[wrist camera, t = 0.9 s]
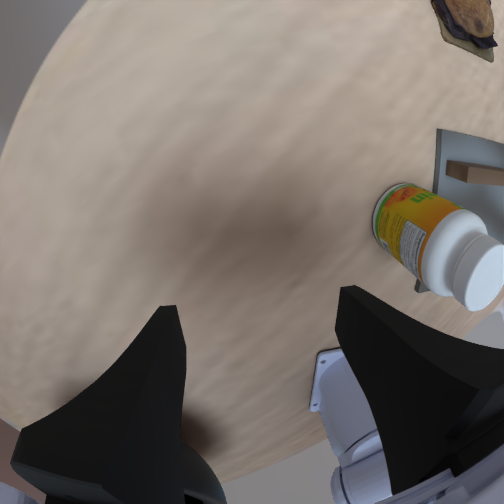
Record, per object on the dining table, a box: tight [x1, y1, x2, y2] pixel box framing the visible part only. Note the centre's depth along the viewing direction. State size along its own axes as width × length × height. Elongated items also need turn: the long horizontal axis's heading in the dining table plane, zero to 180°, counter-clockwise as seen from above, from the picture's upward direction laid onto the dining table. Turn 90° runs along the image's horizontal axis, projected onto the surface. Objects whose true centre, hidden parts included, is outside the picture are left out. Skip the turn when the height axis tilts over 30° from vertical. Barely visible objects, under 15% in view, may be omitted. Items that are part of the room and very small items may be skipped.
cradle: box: [415, 129, 504, 293], centre depth 19 cm, size 14×14×3 cm
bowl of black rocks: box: [180, 440, 227, 504], centre depth 19 cm, size 20×20×19 cm
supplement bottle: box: [373, 183, 504, 311], centre depth 16 cm, size 5×5×10 cm
